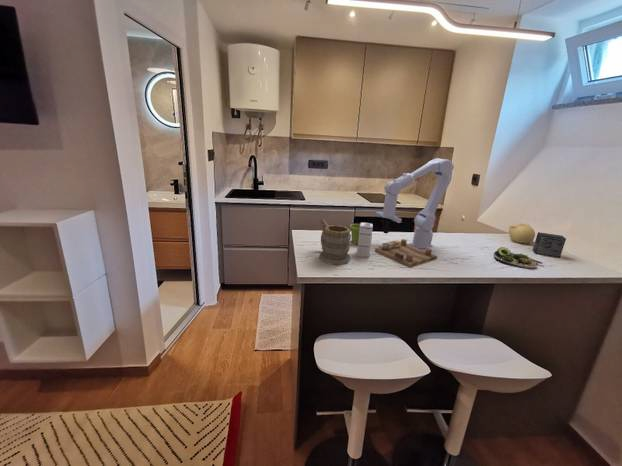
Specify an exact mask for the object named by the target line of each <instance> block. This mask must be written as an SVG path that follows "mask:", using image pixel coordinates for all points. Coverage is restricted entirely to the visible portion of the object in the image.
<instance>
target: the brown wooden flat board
mask: <svg viewBox="0 0 622 466" xmlns="http://www.w3.org/2000/svg"><path fill="white" fill-rule="evenodd" d="M400 241H401V246H400V247H396V248H392V249H388V250H383V249H382V246H380V247H376V248H374V252H375V253H378V254H380V255H382V256H384V257H386V258H389V259H391V260H393V261H395V262H397V263H399V264H402V265H403V266H406V267H409V268H412V267H416V266H418V265H421V264H425V263H427V262H431V261H434V260H437V259H438V255H437V254H434V253H433V252H432V251H433V250H432V249H431V248H425V250H424V249H420V248H418V247H415V246H413V245H410V244H409V243H407V241H408V240H407V239H405V238H402V239H401V240H400Z"/></svg>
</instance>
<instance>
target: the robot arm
mask: <svg viewBox="0 0 622 466" xmlns="http://www.w3.org/2000/svg"><path fill="white" fill-rule="evenodd" d="M454 168H455V166H454V164H453V162H452V161H451V160H450V159H445V158H439V157H436V158H433V159H432V160H429V161H428V162H427V163H426V164H423V166H420V167H419V168H417V169H416V170H414V171H412V172H411V173H409V172H403V173H402V175H401V176H399V177H398V178H394V179H393V181H391V180H390V181H388V182H387V183H386V184H385V185H384V192H385V196H384V202H383V203H384V204H383V208H382V209H383V210H382V212H381V211H376V212H375V216H376V217H380V222H381V224H382V229H383V234H385V235H386V234H389V232H390V229H391V228H392V226H393V225H394V223H395V222H396V223H398V224H400V223H402V218H401V217H398V216H397V215H396V209H397V202H398V197H399V195H400V193H401V192H402V190H403V189H405V188H407V187H409V186H411V185H412V184H414V182H415V180H417V179H419V178H421V177H422V176H425V175H427V174H428V173H429V174H430V173H434V174H435V176H436V177H437V181H436V184H435V185H434V188H433V189H432V191H431V194H430V196H429V198H428V200H427V202H426V204H425V206H424V208H423V209H421V210H420V211H418V214H417V215H416V216H415V217H414V219H413V222H414V226H415V228H414V233H413V238H412V242H409V243H408V244H409V245H411V246H414V247H416V248H419V249H421V250H424V249H428V248H430V247H432V246H433V245H432V242H433V235H434V233H433V230H432V229H433V228H434V227H435V221H436V214H435V213H436V211H437V209H438V207H439V205H440V204H441V201H442V199H443V197H444V195H445V194H446V192H447V190H448V187H449V186H450V183H451V181H452V179H453V177H452V176H453V171H454Z"/></svg>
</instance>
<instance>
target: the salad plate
mask: <svg viewBox="0 0 622 466" xmlns="http://www.w3.org/2000/svg"><path fill="white" fill-rule="evenodd" d="M493 258H494V259H496V261H497V262H498V261H499V263H501V264H503V263H504V265H508V266H513V267H518V268H522V267H523V268H524V269H535V268H537V267H538V266H537V265H538V264H541V265H542V264H543V261H538V260H536V259H533V258H532V257H531V256H530V257H529V256H528V254H527V255H526V254H523V253H515V252H511V250H510V249H509V248H507V247H504V246H501V247H499V248H498V249H497V250H495V251H494V252H493ZM501 259H502V260H501ZM517 263H522V264H517ZM526 264H527V265H526Z"/></svg>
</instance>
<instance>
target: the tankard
mask: <svg viewBox="0 0 622 466" xmlns="http://www.w3.org/2000/svg"><path fill="white" fill-rule="evenodd" d="M319 224H320V225H322V232H321V235H320V245H321V253H320V254H319V260H321V261H322V262H324V263H325V264H330V265H335V266H340V265H345V264H349V261H350V260H351V255H350V254H348V253H349V251H350V250H351V249H350V247H351V245H350V241H351V240H352V236H351V228H349V227H347V226H345V225H338V224H332V225H331V224H330V225H329V224H328V223H327V221H326V220H325V218H321V219H320V220H319Z"/></svg>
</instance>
